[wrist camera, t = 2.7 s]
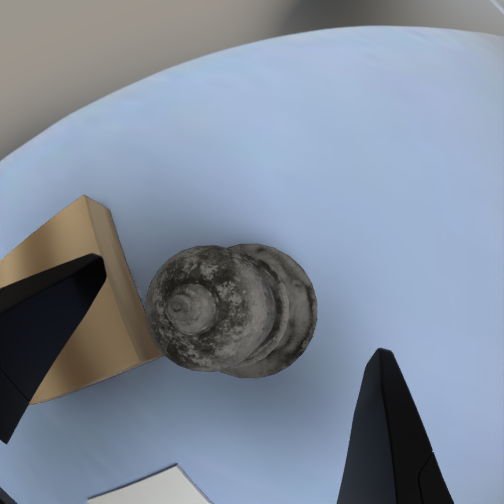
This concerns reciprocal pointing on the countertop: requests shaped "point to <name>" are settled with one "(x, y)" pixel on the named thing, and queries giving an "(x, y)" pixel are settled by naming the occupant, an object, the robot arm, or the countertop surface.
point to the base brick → (102, 309)
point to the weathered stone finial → (232, 310)
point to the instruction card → (157, 491)
